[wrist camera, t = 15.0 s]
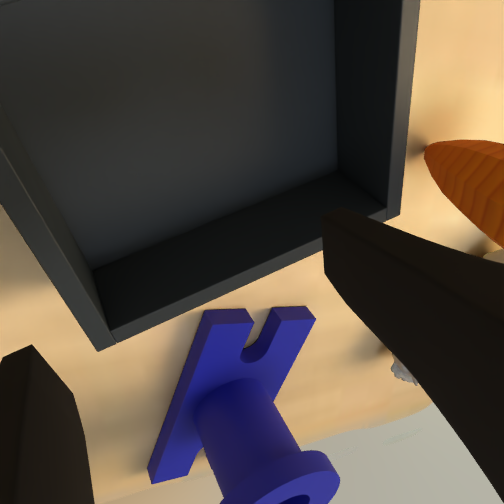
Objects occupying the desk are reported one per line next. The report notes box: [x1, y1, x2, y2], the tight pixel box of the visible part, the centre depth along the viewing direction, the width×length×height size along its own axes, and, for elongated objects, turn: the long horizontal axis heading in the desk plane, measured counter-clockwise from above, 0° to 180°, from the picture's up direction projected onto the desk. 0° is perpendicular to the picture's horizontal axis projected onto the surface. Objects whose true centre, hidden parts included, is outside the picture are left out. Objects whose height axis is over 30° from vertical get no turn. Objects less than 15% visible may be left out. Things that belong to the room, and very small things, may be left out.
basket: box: [0, 0, 420, 352], centre depth 16 cm, size 15×13×5 cm
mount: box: [147, 306, 340, 504], centre depth 28 cm, size 15×8×9 cm, turn 156°
